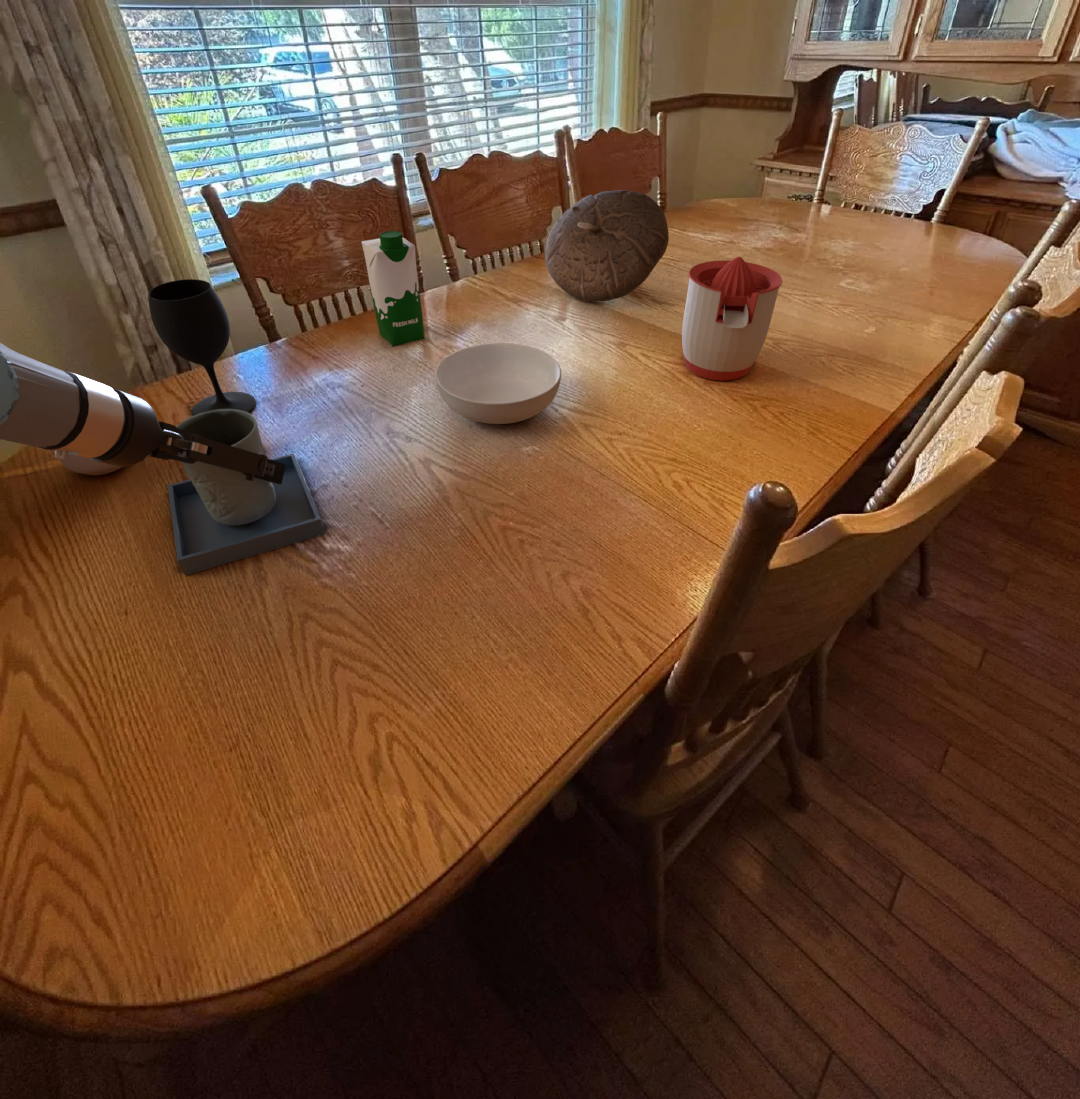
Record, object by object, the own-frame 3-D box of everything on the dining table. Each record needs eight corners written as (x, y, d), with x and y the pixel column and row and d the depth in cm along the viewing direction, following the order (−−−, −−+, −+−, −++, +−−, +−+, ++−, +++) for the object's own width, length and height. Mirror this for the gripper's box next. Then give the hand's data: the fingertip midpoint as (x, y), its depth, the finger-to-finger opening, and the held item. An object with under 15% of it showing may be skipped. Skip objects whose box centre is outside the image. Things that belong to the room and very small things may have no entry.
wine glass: (269, 400, 109) (232, 283, 96) (225, 430, 102) (177, 307, 89) (224, 388, 113) (181, 273, 99) (178, 416, 106) (125, 296, 92)
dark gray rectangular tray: (174, 499, 89) (167, 484, 87) (298, 467, 95) (294, 452, 93) (185, 576, 78) (177, 560, 76) (325, 534, 83) (320, 519, 82)
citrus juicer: (676, 389, 113) (695, 274, 99) (672, 347, 125) (689, 240, 112) (765, 395, 111) (797, 279, 98) (753, 351, 124) (779, 243, 110)
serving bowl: (419, 429, 103) (413, 391, 98) (464, 372, 117) (461, 336, 113) (542, 449, 98) (542, 410, 94) (573, 386, 113) (574, 350, 109)
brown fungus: (520, 302, 144) (520, 181, 138) (576, 310, 162) (578, 204, 155) (628, 294, 128) (634, 157, 122) (677, 304, 146) (684, 185, 139)
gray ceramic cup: (280, 478, 90) (254, 402, 82) (285, 520, 83) (258, 442, 75) (203, 493, 87) (169, 416, 79) (202, 538, 80) (164, 459, 72)
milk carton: (390, 349, 124) (372, 241, 111) (373, 333, 130) (354, 228, 117) (430, 339, 128) (418, 233, 114) (413, 324, 133) (399, 221, 120)
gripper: (2, 440, 65) (172, 479, 87) (181, 479, 60) (314, 510, 82) (20, 370, 65) (185, 426, 87) (199, 403, 60) (327, 454, 82)
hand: (247, 467), depth 84 cm, fingers closed on gray ceramic cup, 10 cm apart
